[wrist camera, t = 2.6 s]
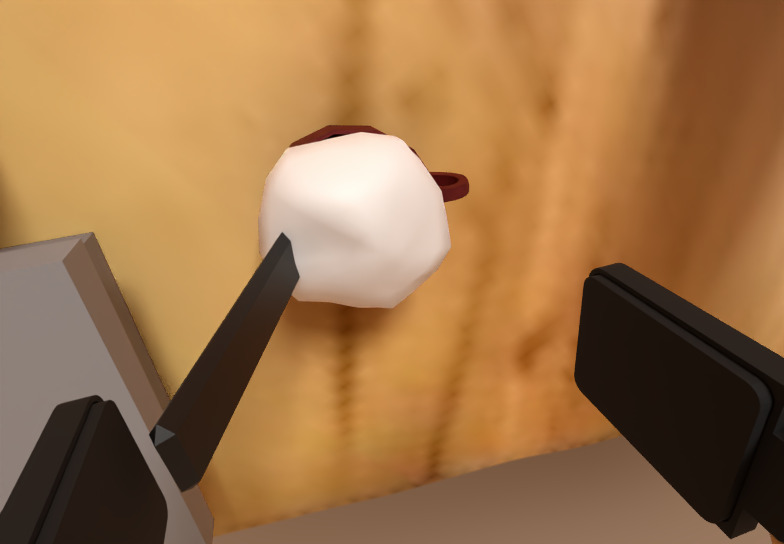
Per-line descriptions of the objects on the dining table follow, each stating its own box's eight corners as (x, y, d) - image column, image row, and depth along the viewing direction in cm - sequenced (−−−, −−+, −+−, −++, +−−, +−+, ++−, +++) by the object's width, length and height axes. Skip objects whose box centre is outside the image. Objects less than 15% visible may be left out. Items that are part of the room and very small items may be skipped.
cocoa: (445, 134, 19) (688, 236, 9) (411, 269, 22) (573, 472, 11) (201, 83, 16) (153, 158, 6) (191, 251, 18) (144, 518, 8)
